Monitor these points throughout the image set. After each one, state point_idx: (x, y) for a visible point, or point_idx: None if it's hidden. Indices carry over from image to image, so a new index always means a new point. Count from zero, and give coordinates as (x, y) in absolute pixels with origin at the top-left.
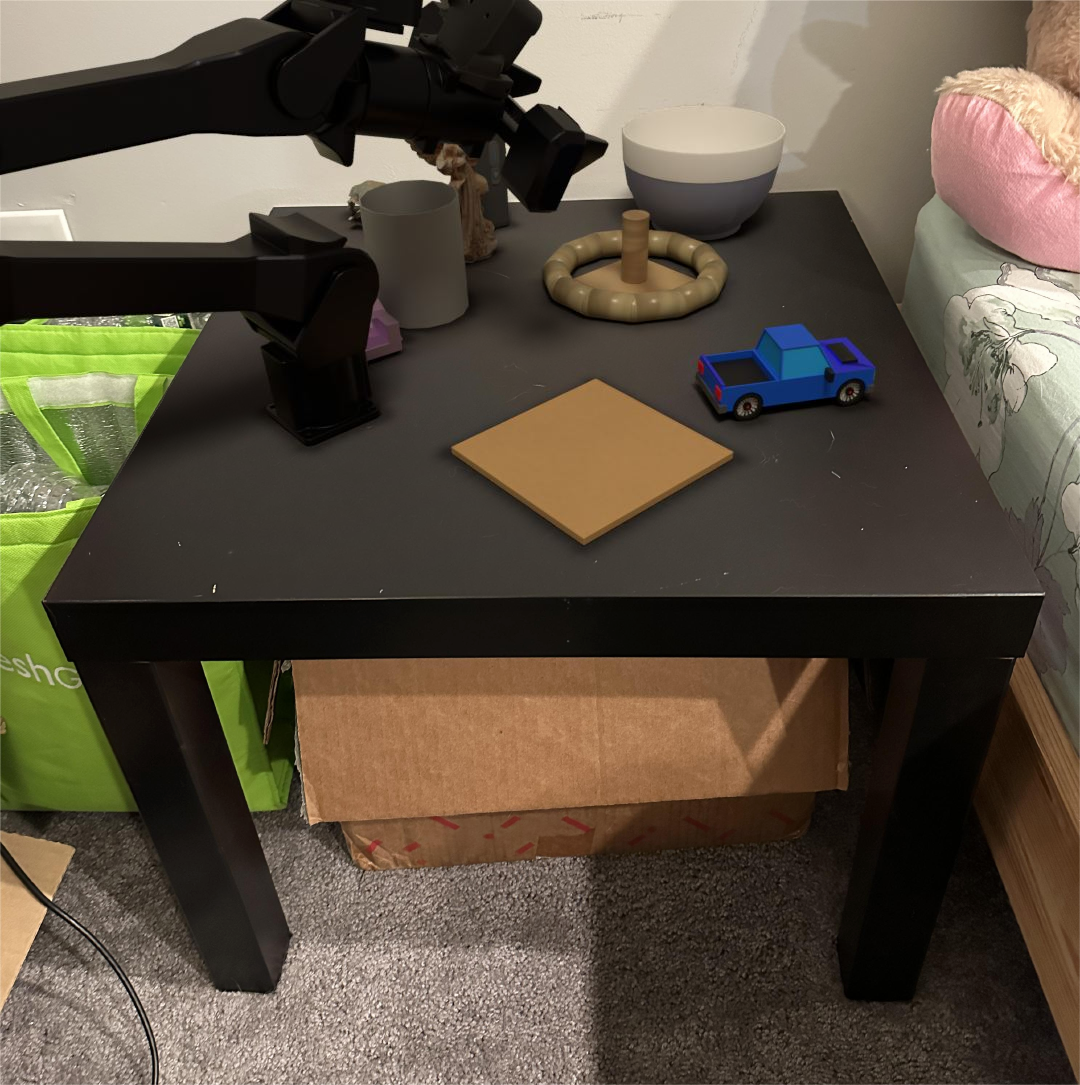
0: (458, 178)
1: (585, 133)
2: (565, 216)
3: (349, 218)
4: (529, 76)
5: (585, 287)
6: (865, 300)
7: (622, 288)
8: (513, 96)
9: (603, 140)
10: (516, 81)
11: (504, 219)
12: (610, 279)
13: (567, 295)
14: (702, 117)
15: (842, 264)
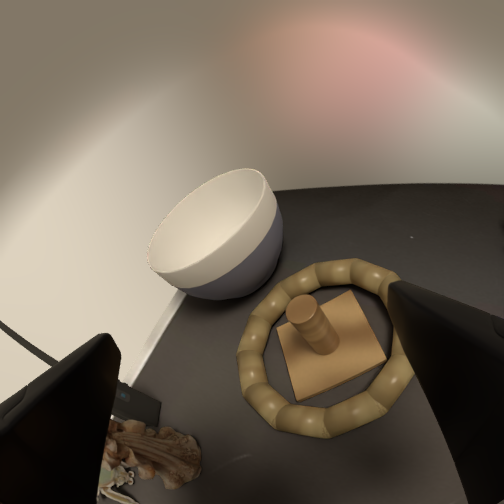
0: (127, 455)
1: (454, 319)
2: (175, 354)
3: (96, 498)
4: (90, 358)
5: (364, 404)
6: (410, 191)
7: (342, 359)
8: (109, 414)
9: (404, 286)
10: (85, 395)
11: (156, 404)
12: (317, 365)
13: (355, 425)
14: (174, 219)
15: (353, 195)
